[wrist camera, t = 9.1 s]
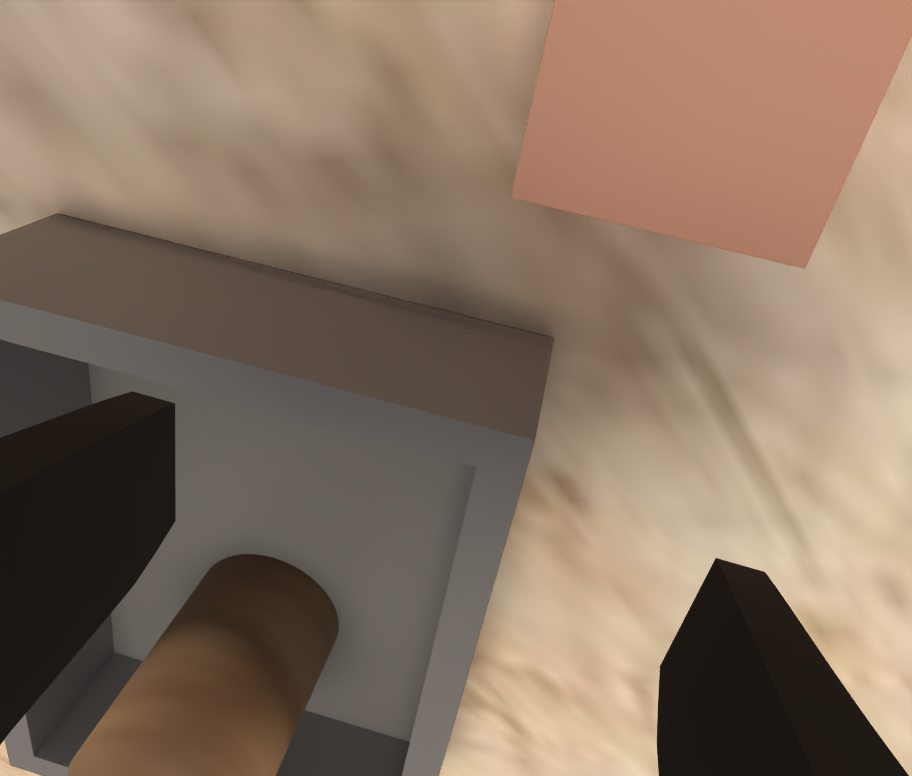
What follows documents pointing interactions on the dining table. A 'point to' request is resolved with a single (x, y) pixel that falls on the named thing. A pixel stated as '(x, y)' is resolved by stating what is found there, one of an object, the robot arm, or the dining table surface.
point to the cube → (709, 114)
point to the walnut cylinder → (220, 678)
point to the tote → (284, 470)
